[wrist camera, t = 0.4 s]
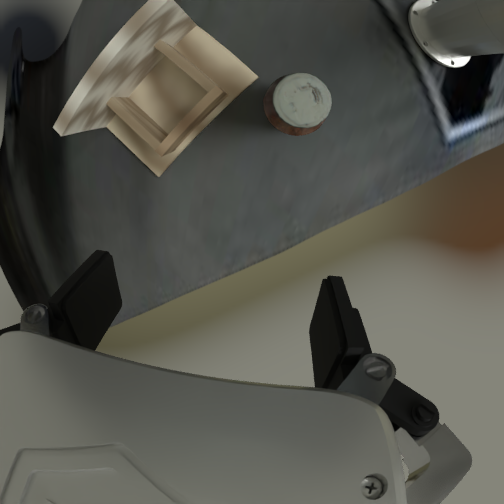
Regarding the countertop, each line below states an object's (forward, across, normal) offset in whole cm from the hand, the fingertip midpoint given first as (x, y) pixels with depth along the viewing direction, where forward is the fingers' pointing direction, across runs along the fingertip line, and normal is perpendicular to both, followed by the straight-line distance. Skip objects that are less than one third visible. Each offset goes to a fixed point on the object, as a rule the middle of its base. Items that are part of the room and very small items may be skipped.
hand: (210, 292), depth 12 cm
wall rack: (+29, +12, -10) cm, 33 cm away
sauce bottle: (+30, -4, -8) cm, 31 cm away
